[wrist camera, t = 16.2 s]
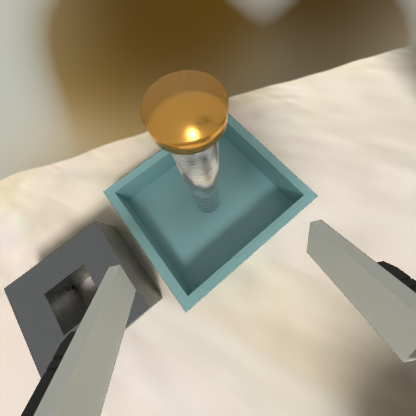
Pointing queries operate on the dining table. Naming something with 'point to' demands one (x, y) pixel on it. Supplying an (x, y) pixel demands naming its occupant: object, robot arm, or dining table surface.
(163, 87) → the pin
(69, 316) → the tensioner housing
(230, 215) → the tray
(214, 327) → the dining table surface
